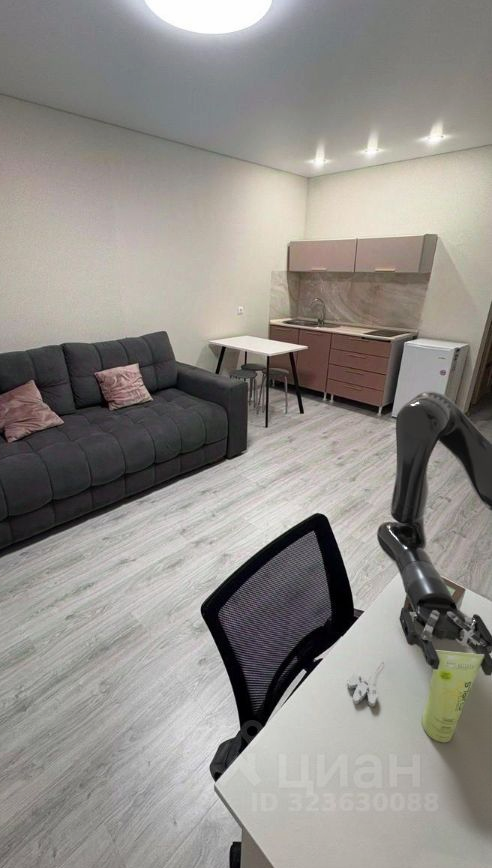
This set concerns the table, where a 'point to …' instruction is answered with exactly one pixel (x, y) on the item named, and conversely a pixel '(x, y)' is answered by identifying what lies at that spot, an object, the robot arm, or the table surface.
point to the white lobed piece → (362, 689)
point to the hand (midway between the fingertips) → (463, 668)
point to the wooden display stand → (455, 591)
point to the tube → (449, 692)
